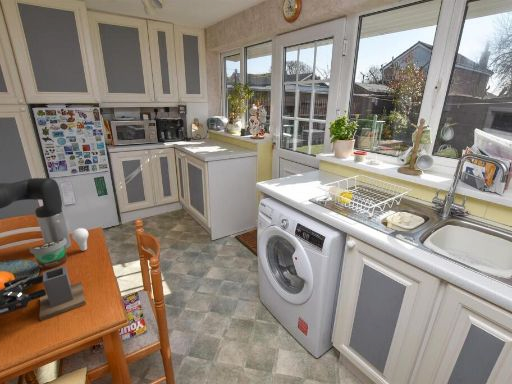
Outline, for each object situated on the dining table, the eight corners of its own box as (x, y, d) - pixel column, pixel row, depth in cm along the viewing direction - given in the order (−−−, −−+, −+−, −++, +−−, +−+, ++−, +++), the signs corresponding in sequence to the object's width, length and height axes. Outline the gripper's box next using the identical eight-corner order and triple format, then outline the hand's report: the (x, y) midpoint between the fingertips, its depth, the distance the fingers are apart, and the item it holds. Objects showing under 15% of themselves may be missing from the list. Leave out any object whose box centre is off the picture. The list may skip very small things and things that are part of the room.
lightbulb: (84, 254, 117) (79, 232, 113) (72, 253, 118) (67, 231, 114) (95, 247, 122) (90, 226, 119) (83, 246, 123) (78, 225, 120)
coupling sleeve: (51, 296, 90) (43, 272, 87) (72, 289, 93) (65, 265, 90) (51, 307, 85) (42, 281, 82) (73, 299, 89) (66, 274, 85)
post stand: (41, 298, 91) (34, 278, 88) (82, 285, 98) (77, 265, 95) (40, 321, 82) (33, 299, 79) (85, 304, 89) (80, 283, 86)
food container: (36, 275, 103) (29, 253, 100) (35, 268, 108) (28, 246, 104) (73, 263, 111) (67, 242, 108) (71, 256, 115) (65, 236, 112)
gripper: (-36, 311, 70) (42, 286, 79) (-25, 282, 80) (42, 264, 89) (-26, 333, 72) (48, 306, 81) (-16, 302, 83) (48, 282, 92)
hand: (45, 284), depth 85 cm, fingers open, 8 cm apart
